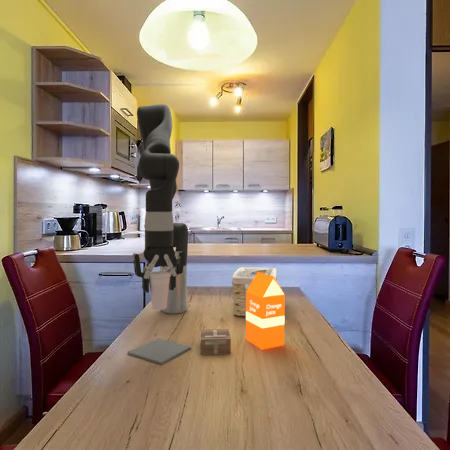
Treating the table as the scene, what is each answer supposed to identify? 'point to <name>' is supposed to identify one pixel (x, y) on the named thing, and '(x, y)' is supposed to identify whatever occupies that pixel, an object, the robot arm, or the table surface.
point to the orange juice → (265, 312)
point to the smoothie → (159, 288)
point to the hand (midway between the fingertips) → (159, 290)
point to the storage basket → (245, 285)
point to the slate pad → (159, 351)
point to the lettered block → (215, 341)
